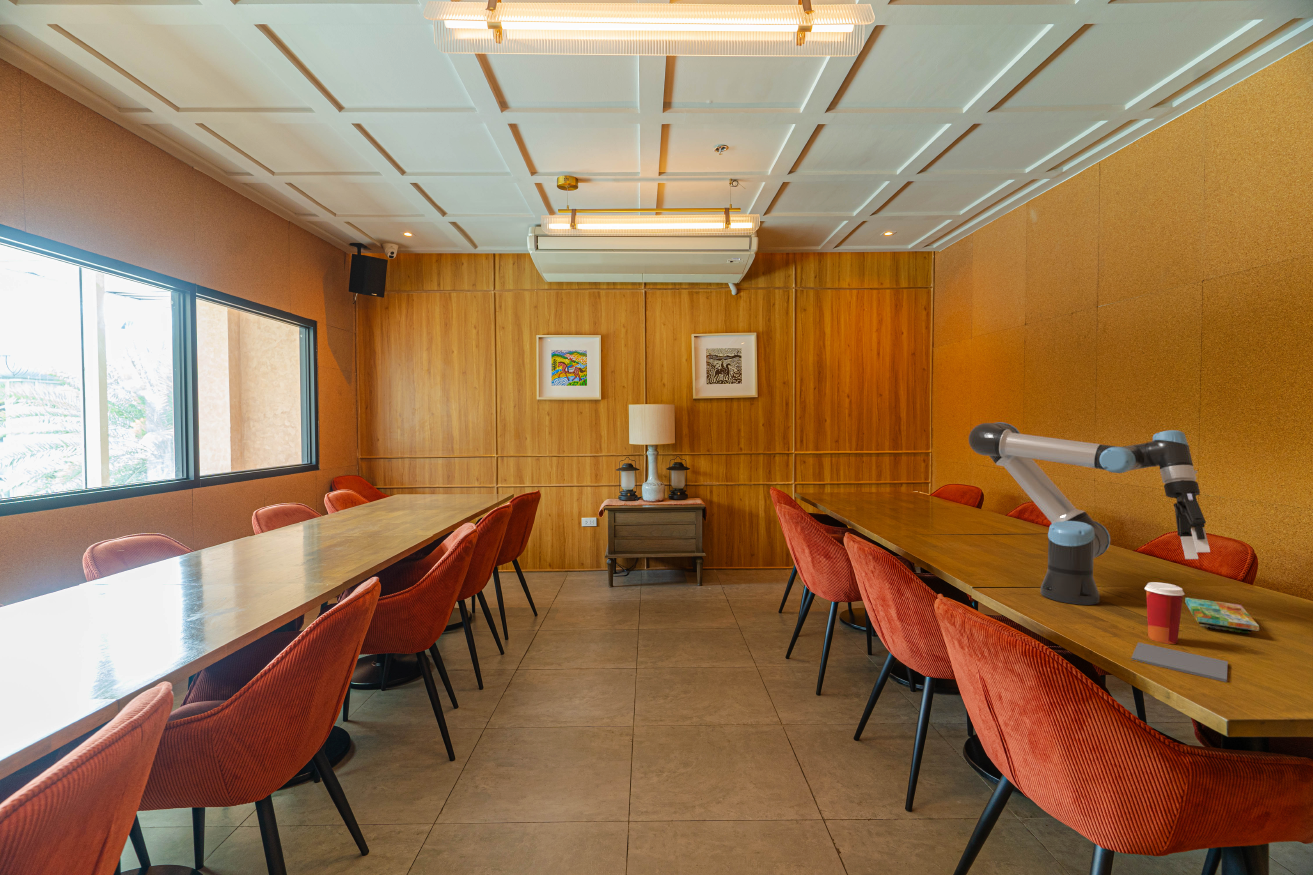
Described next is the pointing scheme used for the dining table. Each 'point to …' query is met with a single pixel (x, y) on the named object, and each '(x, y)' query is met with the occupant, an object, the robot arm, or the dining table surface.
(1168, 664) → the mat
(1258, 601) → the dining table surface
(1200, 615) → the puzzle game
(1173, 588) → the paper cup
